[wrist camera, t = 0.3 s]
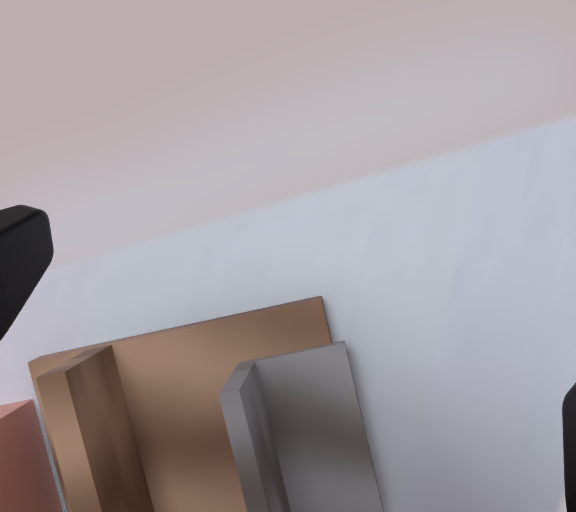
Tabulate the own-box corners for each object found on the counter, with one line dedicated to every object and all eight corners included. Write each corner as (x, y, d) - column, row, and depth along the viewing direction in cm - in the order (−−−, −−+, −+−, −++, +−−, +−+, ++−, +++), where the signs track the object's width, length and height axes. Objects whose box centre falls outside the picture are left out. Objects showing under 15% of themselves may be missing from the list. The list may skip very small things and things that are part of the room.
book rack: (390, 540, 24) (405, 627, 19) (101, 586, 25) (44, 678, 20) (334, 292, 23) (333, 315, 18) (40, 356, 24) (-36, 392, 19)
